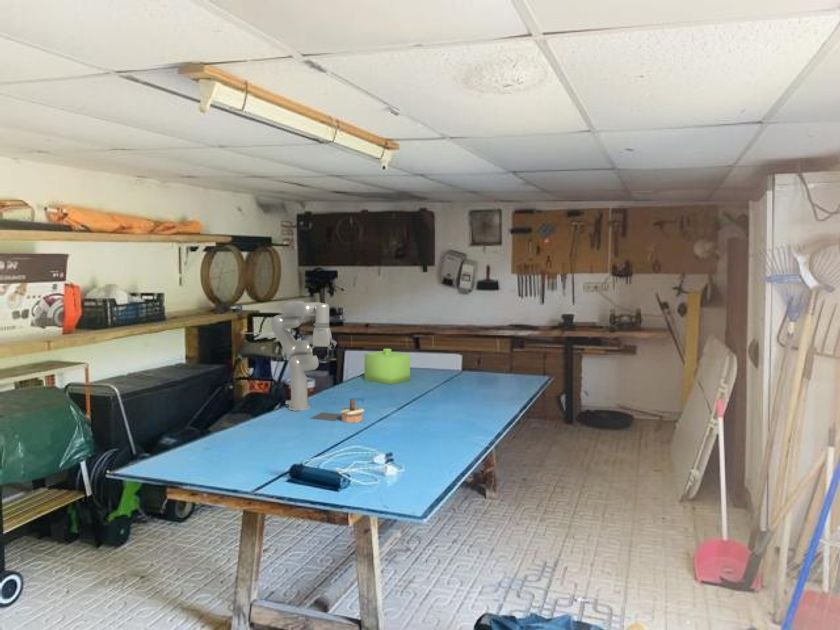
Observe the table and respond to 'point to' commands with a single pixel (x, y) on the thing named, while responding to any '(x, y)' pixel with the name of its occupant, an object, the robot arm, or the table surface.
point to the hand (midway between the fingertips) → (322, 356)
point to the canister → (387, 367)
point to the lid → (352, 409)
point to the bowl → (351, 418)
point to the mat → (327, 416)
